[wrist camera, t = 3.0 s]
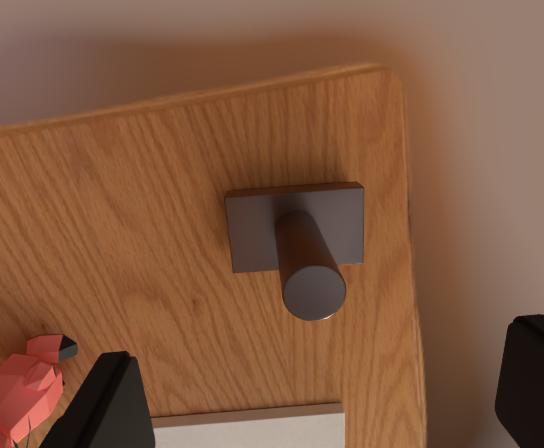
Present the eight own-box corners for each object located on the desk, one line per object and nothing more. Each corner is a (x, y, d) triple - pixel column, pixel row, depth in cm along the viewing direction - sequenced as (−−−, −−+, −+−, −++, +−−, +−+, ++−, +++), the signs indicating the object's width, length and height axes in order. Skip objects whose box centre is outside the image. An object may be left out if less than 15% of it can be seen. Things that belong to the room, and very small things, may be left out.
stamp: (352, 177, 22) (418, 229, 13) (351, 246, 23) (411, 337, 14) (228, 186, 21) (205, 245, 12) (235, 254, 23) (220, 352, 14)
